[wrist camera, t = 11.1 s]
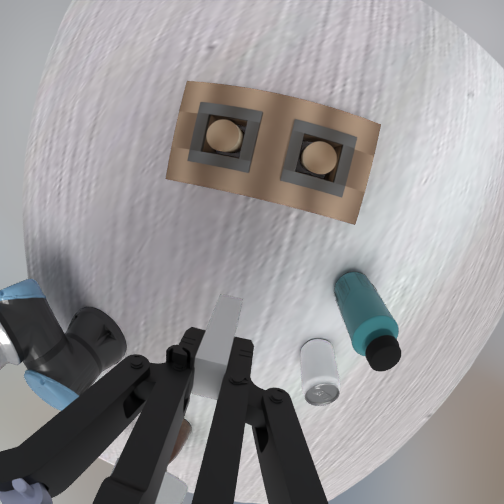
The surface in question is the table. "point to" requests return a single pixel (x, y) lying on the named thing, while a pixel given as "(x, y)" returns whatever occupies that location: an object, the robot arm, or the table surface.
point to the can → (319, 373)
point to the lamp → (171, 485)
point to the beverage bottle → (368, 321)
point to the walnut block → (273, 149)
